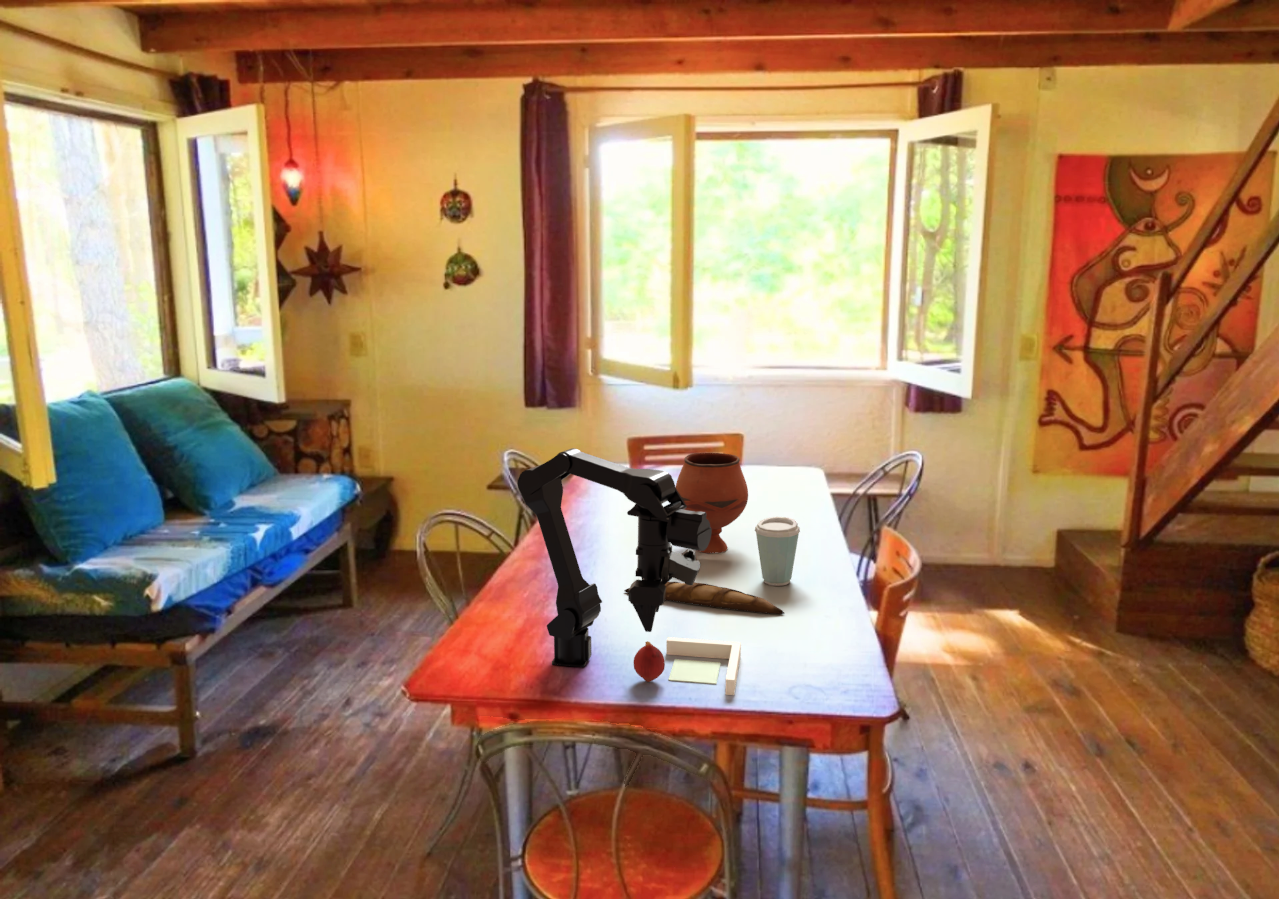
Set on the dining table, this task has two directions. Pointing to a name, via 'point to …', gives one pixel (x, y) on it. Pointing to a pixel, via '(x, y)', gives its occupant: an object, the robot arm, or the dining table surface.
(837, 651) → the dining table surface
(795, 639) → the dining table surface
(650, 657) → the onion
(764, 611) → the bread
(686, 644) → the arena
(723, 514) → the goblet
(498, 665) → the dining table surface
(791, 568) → the disposable coffee cup
